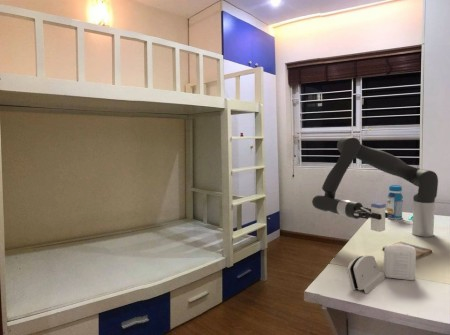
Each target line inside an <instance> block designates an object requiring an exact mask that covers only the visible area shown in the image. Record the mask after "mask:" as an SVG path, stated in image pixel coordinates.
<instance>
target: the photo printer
mask: <svg viewBox="0 0 450 335" xmlns="http://www.w3.org/2000/svg"><path fill="white" fill-rule="evenodd" d="M384 247H385V250H383V252H384V253H383V270H382V271H383V272H382V273H383V274H384V276H385V278H390V279H399V280H408V281H415V279H416V265H417V264H416V263H417V261H416V260H417V259H416V251H415V248H414V247H412V246H409V245H405V244H394V243H389V244H386V245H385V246H384Z"/></svg>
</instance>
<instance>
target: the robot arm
mask: <svg viewBox="0 0 450 335" xmlns="http://www.w3.org/2000/svg"><path fill="white" fill-rule="evenodd" d="M336 148H337V150H338V152H339V153H340V156H339V157H338V159H337V161H336V163H335V165H334V166H333V167H332V169H331V170H330V171H329V172H328V174H327V175H326V177H325V180H324V182H323V184H322V187H321V189H322V191H323V192H324V195H321V194H319V195H315V196H314V197H313V198H312V200H311V204H312V206H313V208H315V209H317V210H320V211H323V212H331V213H333V214H337V215H341V216H343V217H346V218H352V219H355V220H359V219H366V220H369V219H370V220H371V218H374V219H378V220H381V219H382V215H381V214H377V213H373V214H372V212H371V207H368V206H364V205H363V203H361V202H358V201H352V200H348V199H339V198H336V192H337V190H338V188H339V186H340V184H341V183H342V180H343V178H344V176H345V173H346V172H347V170H348V169H349V167H350V166H351V164H352V163H353V161H354V159H357V160H360V161H362V162H363V163H365V164H367V165H369V166H371V167H373V168H375V169H376V170H379V171H382V172H383V173H386V174H390V175H392V176H396V177H398V178H400V179H404V180H405V181H406V182H409V183H411V184H412V185H414V186H416V187H418V190H417V193H416V194H414V195H413V200H412V201H413V202H412V203H413V204H412V205H413V206H412V215H413V220H412V226H411V228H412V230H411V233H412V234H413V236H418V237H425V238H428V237H429V238H430V237H433V236H434V232H435V231H434V229H435V226H434V225H435V201H436V198H437V196H438V188H439V186H438V185H439V177H438V174H437V173H436V172H435V171H433V170H429V169H423V168H418V167H415V166H412V165H410V164H407V163H406V162H404V161H403V160H402V159H400V158H399V157H398V156H395V155H393V154H391V153H388V152H386V151H383V150H380V149H376V148H373V147H369V146H365V145H363V144H361V141H360V140H359V139H358V138H357V137H354V136H344V137H342V138H340V139H339V140H338V141H337V144H336ZM385 219H389V218H388V213H387V211H385Z"/></svg>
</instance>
